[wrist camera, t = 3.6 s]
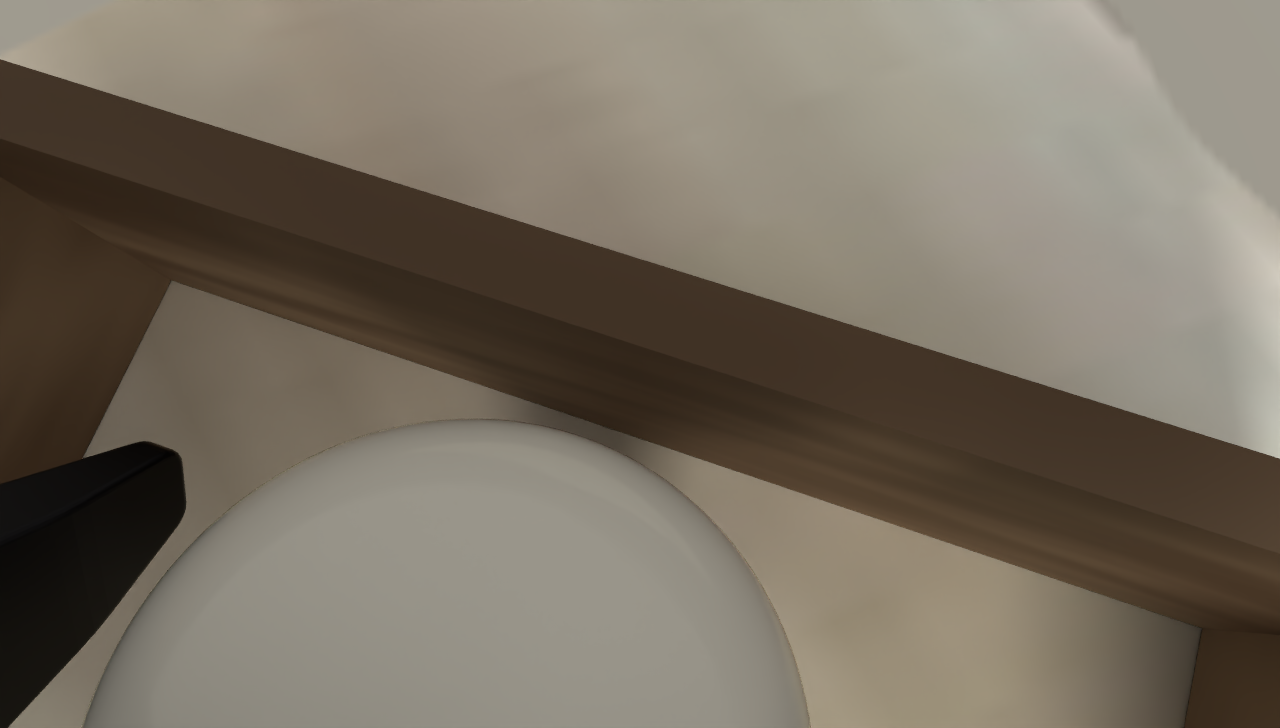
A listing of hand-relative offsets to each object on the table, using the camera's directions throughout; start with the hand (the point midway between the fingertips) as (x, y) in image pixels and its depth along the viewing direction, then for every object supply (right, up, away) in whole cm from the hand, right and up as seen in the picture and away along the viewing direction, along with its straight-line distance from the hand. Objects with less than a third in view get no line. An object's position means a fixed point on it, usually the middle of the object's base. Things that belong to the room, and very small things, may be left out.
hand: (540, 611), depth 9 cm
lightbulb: (0, -3, +6) cm, 7 cm away
